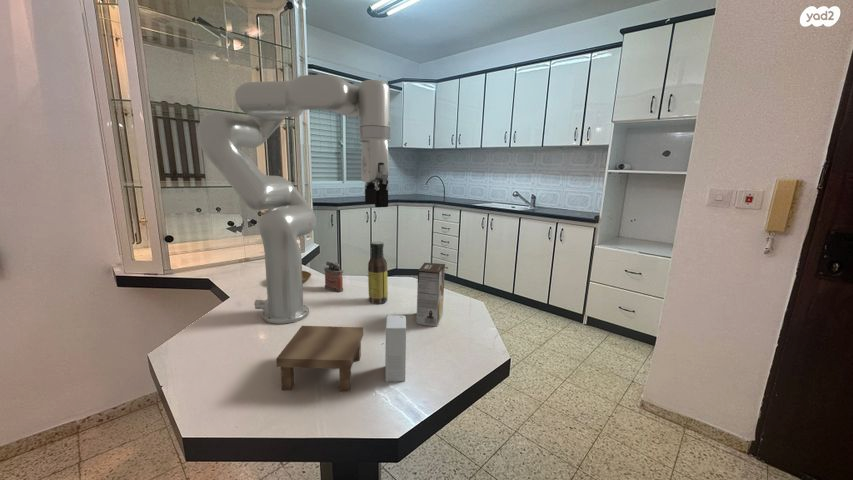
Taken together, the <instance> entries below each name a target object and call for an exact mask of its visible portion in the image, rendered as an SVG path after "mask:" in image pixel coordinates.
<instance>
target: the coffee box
mask: <svg viewBox="0 0 853 480" xmlns="http://www.w3.org/2000/svg"><path fill="white" fill-rule="evenodd" d="M445 268H446V264H445V263H435V262H424V263H423V264H422V266H421V267H420V268H419V269H418V270H417V292H416V293H417V295H416V298H417V299H416V324H417V325H421V326H430V327H438V326H439V325H440V322H441V319H442V317H443V314H444V293H445V290H444V289H445V288H444V287H445V271H446V269H445Z"/></svg>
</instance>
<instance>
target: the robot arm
mask: <svg viewBox="0 0 853 480" xmlns="http://www.w3.org/2000/svg"><path fill="white" fill-rule="evenodd" d="M234 99H235V100H234V101H235V103H236V105H237V107H239V109H240V110H241V111H242V112H243V113H245V114H247V115H248V116H247V117H246V116H241V115H238V114H237V115H236V114H232V113H228V112H211V113H207V114H205V115H203V117H202V118H201V119H200V120H199V124H198V129H197V135H198V142H199V145H200V147H201V149H202V151H203V154H205V156H206V157H207V159H208V160H209V161H210V162H211V164H213V166H214V167H215V168H216V169H217V170H218V171H219V172H220V173H221V174H222V176H223V177H224V178H225V180H226V181H227V183H228V184H229V185H230V186H231V187H232V189H233V190H234V192H235V193H236V194H237V195H238V196H239V198H240V199H241V201H243V202H244V204H245V205H246V207H248V208H250V209H251V210H254V211H263V210H266V211H265V212H263V213H262V215H261V216H260V218H259V221H258V227H259V228H258V229H259V233H260V236H261V240H262V245H263V250H264V251H263V252H264V263H265V280H266V297H267V299H265V300H264V299H255V301H254V309H255V310H263V312H262V314H261V315H262V319H263V321H265V322H267V323H270V324H277V325H278V324H279V325H280V324H283V325H284V324H290V323H295V322H298V321H301V320H303V319H305V318H306V317H307V316H308V315H309V313H310V308H309V307H308V306H307V305H305V304H304V294H303V292H304V291H303V289H304V288H303V287H304V286H303V284H304V283H303V284H302V271H303V262H302V261H303V260H302V252H301V247H300V246H299V242H297V238H300V237H304V236H307V235H309V234H311V233H312V232H313V231H314V230H315V228H316V226H317V217H316V214H315V212H314V210H313V208H311V206H310V204H308V201H307V200H306V199H305V198H304V197H303V195H301V193H300V192H299V191H298V189H297V188H296V187H295V186H294V184H293V183H292V182H291V181H290V180H288V179H287V178H285V177H283V176H280V175H266V174H265V173H264V172H262V171H261V170H260V169H259V168H258V166H257V165H256V164H255V162H254V161H253V159H251V158H250V157H249V156H248V155H247V154H246V153H244V151H242V150H240V149H239V148H243V149H244V148H245V149H255V148H258V147H261V146H262V145H263V144H264V143H265V142H266V141H267V140H268V139H269V138H270V137H271V136H272V135H273V133H274V132H275V131H276V130H277V129H278V127H279V126H280V125H281V124H282V123H283V122H284V120H285V119H286V118H297V117H300V115H302V114H303V113H304V111H305V110H306V111H307V110H308V111H309V110H317V111H318V110H319V111H322V110H325V111H331V112H334V113H337V114H340V115H342V116H345V117H349V118H350V117H351V118H353V117H354V118H355V117H358V125H359V126H358V127H359V128H358V129H359V130H358V131H359V142H361V143H362V144H361V155H360V156H361V157H360V158H361V161H360V166H361V167H360V180H361V181H362V182H365V183H364V203H365V204H366V205H373V204H374V207H375V208H388V207H389V179H390V161H389V159H390V157H389V145H388V143H391V88H390V86H389V84H388V83H387V82H385V81H383V80H379V79H366V80H363V81H361V82H359V85H355V84H353V83H350V82H349V81H346V80H345V79H343V78H341V77H339V76H336V75H332V74H313V75H312V74H310V75H309V74H308V75H299V76H298V77H295V78H293V79H291V80H284V81H283V80H279V81H278V80H277V81H275V80H274V81H249V82H248V81H247V82H243V83H242V84H240V85H239V86H238V87H237V89H235V92H234Z"/></svg>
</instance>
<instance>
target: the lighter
mask: <svg viewBox="0 0 853 480" xmlns="http://www.w3.org/2000/svg"><path fill="white" fill-rule="evenodd" d="M325 265H326V267H325V266H324V269H323V270H324V281H325V282H324V284H325V285H324V289H325V290H328V291H331V292H334V293H342V292H344V286H343V279H344V278H343V274H344V270H343V269H341V265H340V264H339V263H337V262H336V261H335V262H334V261H333V262H332V261H326V263H325Z"/></svg>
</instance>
